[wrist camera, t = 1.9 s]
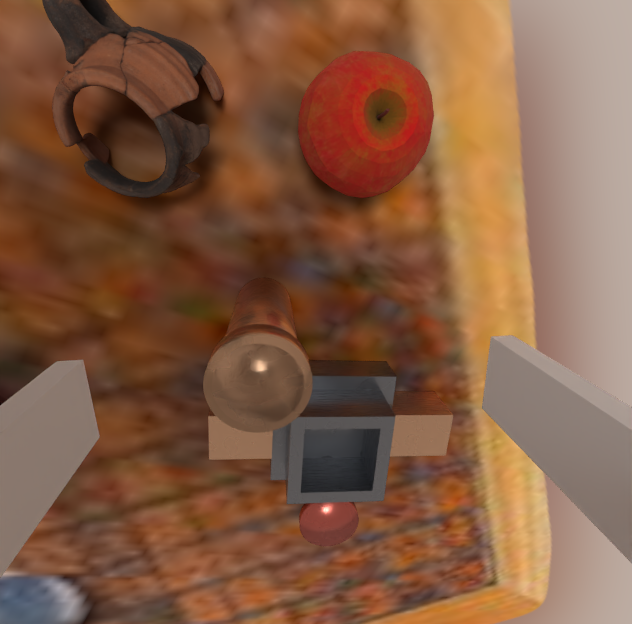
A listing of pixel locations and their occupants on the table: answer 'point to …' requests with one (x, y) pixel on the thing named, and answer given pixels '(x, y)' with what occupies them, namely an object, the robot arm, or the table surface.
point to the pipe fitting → (259, 363)
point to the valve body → (341, 443)
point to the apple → (365, 122)
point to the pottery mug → (130, 88)
